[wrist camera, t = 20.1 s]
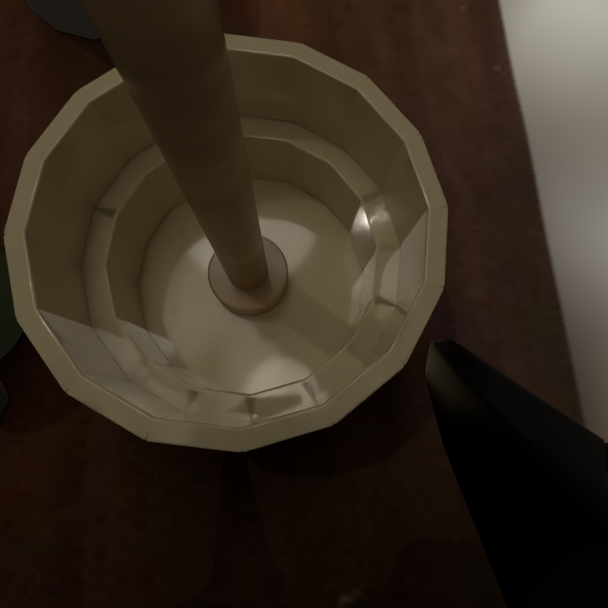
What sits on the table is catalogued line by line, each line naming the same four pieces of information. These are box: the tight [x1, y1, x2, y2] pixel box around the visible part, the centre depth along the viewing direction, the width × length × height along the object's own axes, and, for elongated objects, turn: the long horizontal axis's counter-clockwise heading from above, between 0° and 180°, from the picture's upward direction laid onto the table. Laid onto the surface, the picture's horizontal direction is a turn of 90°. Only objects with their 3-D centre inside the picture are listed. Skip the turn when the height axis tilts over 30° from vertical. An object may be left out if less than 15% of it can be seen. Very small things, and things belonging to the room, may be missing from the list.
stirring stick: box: [80, 0, 288, 316], centre depth 10 cm, size 3×3×17 cm
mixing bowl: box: [4, 33, 448, 453], centre depth 15 cm, size 12×12×7 cm
